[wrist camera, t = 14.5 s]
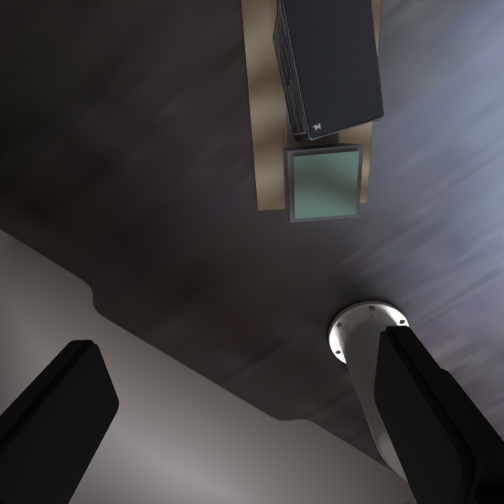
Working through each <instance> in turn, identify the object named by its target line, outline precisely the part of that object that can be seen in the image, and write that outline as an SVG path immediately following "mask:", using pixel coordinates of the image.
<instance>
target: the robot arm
mask: <svg viewBox="0 0 504 504" xmlns="http://www.w3.org/2000/svg"><path fill="white" fill-rule="evenodd" d="M328 342H329V345H330V348H331V350H332V352H333V353H334V355H335V356H336V357H337V358H338V359H340V360H341V361H342V362H344V363H346V364H347V366H348V369H349V372H350V375H351V377H352V380H353V383H354V386H355V390H356V391H357V394H358V396H359V399H360V402H361V405H362V407H363V410H364V413H365V416H366V418H367V421H368V424H369V427H370V429H371V432H372V435H373V438H374V440H375V443H376V445H377V448H378V450H379V452H380V454H381V455H382V457H383V458H384V460H385V461H386V462H387V464H388V465H389V466H390V467H391V468H392V469H393V470H394V471H395V472H396V473H397V474H399V475H400V476H401V477H402V478H404V479H405V480H406V481H408V483H409V485H410V488H411V490H412V492H413V495H414V497H415V498H414V499H412V500H409V501H407V503H404V504H504V441H503V440H502V439H501V437H500V436H499V435H498V434H497V432H496V431H495V430H494V428H493V427H492V426H491V425H490V423H489V422H488V421H487V420H486V418H485V417H484V416H483V414H482V413H481V412H480V411H479V409H478V408H477V407H476V406H475V404H474V403H473V402H472V400H471V399H470V398H469V397H468V395H467V394H466V393H465V392H464V390H463V389H462V388H461V387H460V385H459V384H458V383H457V381H456V380H455V379H454V378H453V376H452V375H451V374H450V373H449V372H448V371H446V370H444V369H441V368H440V367H439V365H438V364H437V363H436V361H435V360H434V359H433V357H432V356H431V355H430V354H429V352H428V351H427V350H426V348H425V347H424V346H423V344H422V343H421V342H420V340H419V339H418V338H417V337H416V335H415V334H414V333H413V331H412V330H411V329H410V327H409V323H408V321H407V319H406V317H405V316H404V315H403V313H402V312H401V311H400V310H399V309H397V308H396V307H394V306H393V305H391V304H388V303H385V302H381V301H364V302H359V303H356V304H353V305H351V306H349V307H347V308H345V309H344V310H343V311H341V312H340V313H339V314H338V315H337V316H336V317H335V318H334V320H333V321H332V323H331V325H330V327H329V331H328ZM118 407H119V400H118V397H117V394H116V392H115V389H114V386H113V384H112V381H111V378H110V376H109V373H108V371H107V368H106V365H105V363H104V360H103V357H102V355H101V352H100V349H99V347H98V345H97V344H94V342H93V341H92V340H74V341H71V342H70V343H68V345H67V346H66V347H65V348H64V349H63V350H62V351H61V352H60V353H59V354H58V355H57V356H56V357H55V358H54V359H53V360H52V361H51V363H50V364H49V365H48V366H47V367H46V368H45V369H44V370H43V371H42V372H41V373H40V374H39V375H38V376H37V377H36V378H35V380H34V381H33V382H32V383H31V384H30V385H29V386H28V387H27V388H26V389H25V390H24V391H23V392H22V393H21V394H20V395H19V397H18V398H17V399H16V400H15V401H14V402H13V403H12V404H11V405H10V406H9V407H8V408H7V409H6V410H5V411H4V413H3V414H2V415H1V416H0V504H68V503H69V501H70V499H71V497H72V496H73V494H74V492H75V490H76V488H77V486H78V484H79V482H80V480H81V479H82V477H83V475H84V473H85V471H86V469H87V467H88V465H89V464H90V462H91V460H92V458H93V456H94V454H95V452H96V450H97V449H98V447H99V445H100V443H101V441H102V439H103V437H104V435H105V433H106V432H107V430H108V428H109V426H110V424H111V422H112V420H113V418H114V416H115V415H116V413H117V410H118Z"/></svg>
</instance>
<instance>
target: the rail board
mask: <svg viewBox="0 0 504 504" xmlns="http://www.w3.org/2000/svg"><path fill="white" fill-rule="evenodd" d="M241 3H242V15H243V27H244V40H245V52H246V65H247V77H248V90H249V102H250V115H251V127H252V140H253V152H254V165H255V177H256V189H257V202H258V211H262V210H275V209H286V211H287V214H288V218H289V221H290V223H293V222H307V221H321V220H334V219H348V218H359V210H360V203H367V192H368V178H369V165H370V151H371V137H372V123H373V122H370V123H367V124H363V125H360V126H357V127H353V128H350V129H347V130H343V131H341V132H338V133H334V134H331V135H328V136H324V137H321V138H318V139H315V140H312V141H311V140H299V141H296V140H295V139H294V135H293V131H292V126H291V122H290V118H289V113H288V109H287V105H286V99H285V95H284V90H283V85H282V80H281V76H280V71H279V66H278V62H277V57H276V53H275V48H274V43H273V33H274V28H275V21H276V15H277V8H278V0H241ZM372 10H373V19H374V29H375V39H376V47H377V54H378V40H379V26H380V12H381V0H372Z"/></svg>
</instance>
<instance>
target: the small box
mask: <svg viewBox="0 0 504 504" xmlns="http://www.w3.org/2000/svg"><path fill="white" fill-rule="evenodd" d="M273 43H274V48H275V53H276V57H277V62H278V66H279V71H280V76H281V80H282V85H283V90H284V95H285V99H286V105H287V109H288V113H289V118H290V122H291V126H292V131H293V135H294V139H295V140H296V141H299V140H311V141H312V140H315V139H318V138H321V137H324V136H328V135H331V134H334V133H338V132H341V131H343V130H347V129H350V128H353V127H357V126H360V125H363V124H367V123H370V122H373V121H377V120H379V119H382V118H383V117H384V111H383V101H382V92H381V84H380V75H379V66H378V57H377V47H376V39H375V29H374V19H373V10H372V0H278V8H277V15H276V21H275V28H274V33H273Z"/></svg>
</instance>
